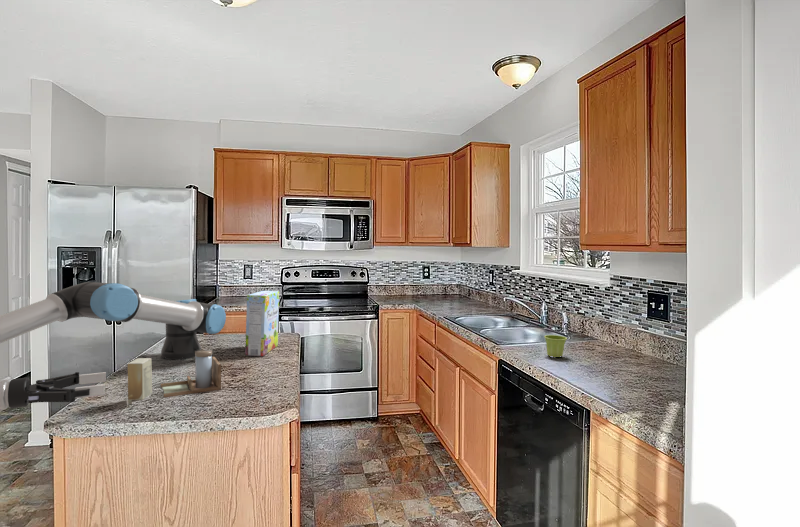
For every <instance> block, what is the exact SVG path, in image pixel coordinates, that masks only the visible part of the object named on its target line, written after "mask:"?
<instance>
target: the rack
mask: <svg viewBox="0 0 800 527" xmlns="http://www.w3.org/2000/svg"><path fill="white" fill-rule="evenodd" d="M186 379H187V380H183V381H173V382H164V383H160V388H162V389H163V398H170V397H178V396H183V395H184V396H185V395H190V394H198V393H199V394H200V393H205V392H206V393H207V392H212V391H213V392H214V391H220V390H222V364H221V363H220V361H219V360H218V359H217V358H216V357H215V356H212V386H211V387H208V388H196V387H195V379H191V376H190V375H187V378H186Z"/></svg>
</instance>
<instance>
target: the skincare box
mask: <svg viewBox="0 0 800 527" xmlns="http://www.w3.org/2000/svg"><path fill="white" fill-rule="evenodd" d="M152 364H153V363H152V357H151V358H150V357H146V358H145V357H139V358H136V359H134V360H131V361H130V362H128V363H127V404H128V405H133V401H143V400H145V399H147V398H148V397H149V396H151V395H152V394H153V378H152V377H153V376H152V374H153V372H152V369H153V368H152V366H153V365H152Z"/></svg>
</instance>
